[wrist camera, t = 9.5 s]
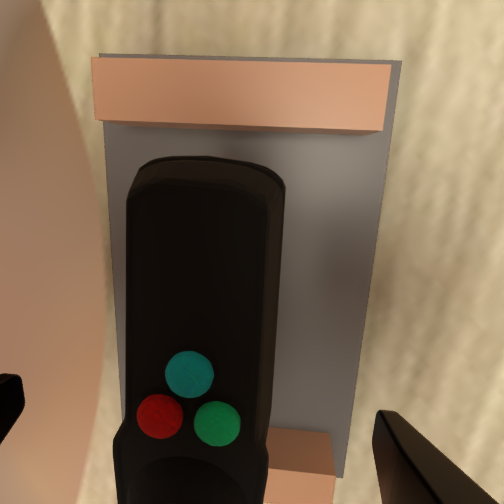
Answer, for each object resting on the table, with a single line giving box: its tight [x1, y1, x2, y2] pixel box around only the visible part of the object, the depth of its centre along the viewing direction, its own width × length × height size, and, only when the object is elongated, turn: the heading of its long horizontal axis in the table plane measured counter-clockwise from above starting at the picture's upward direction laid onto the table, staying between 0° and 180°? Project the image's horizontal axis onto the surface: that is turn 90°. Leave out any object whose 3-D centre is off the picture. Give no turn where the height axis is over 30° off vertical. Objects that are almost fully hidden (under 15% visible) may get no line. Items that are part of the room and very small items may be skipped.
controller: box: [113, 155, 286, 504], centre depth 11 cm, size 4×12×10 cm, turn 176°
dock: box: [91, 53, 402, 504], centre depth 16 cm, size 20×12×4 cm, turn 178°
